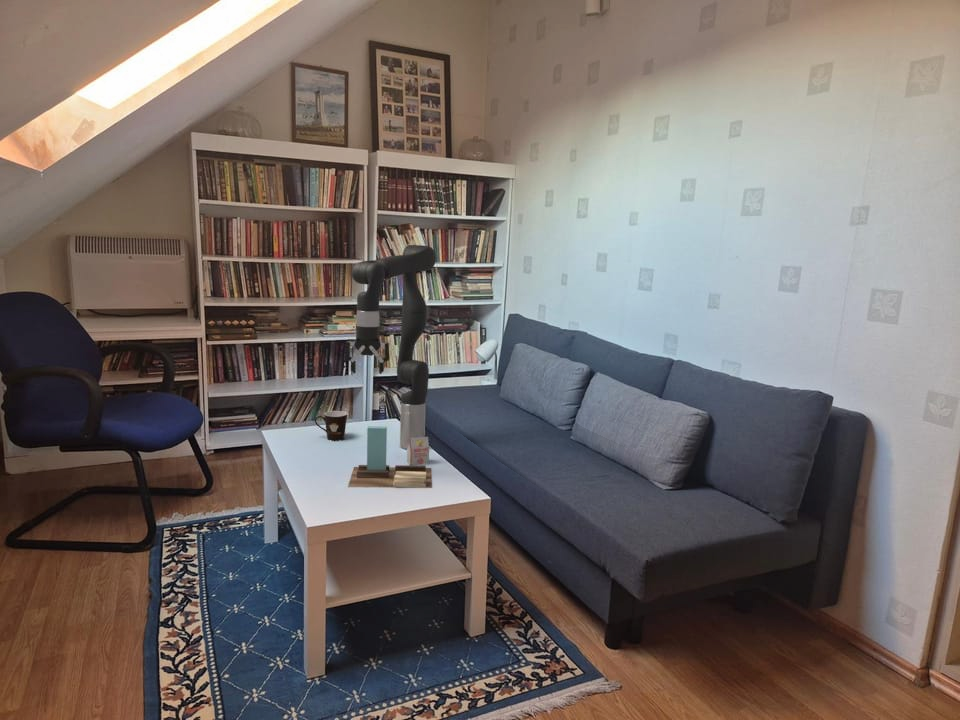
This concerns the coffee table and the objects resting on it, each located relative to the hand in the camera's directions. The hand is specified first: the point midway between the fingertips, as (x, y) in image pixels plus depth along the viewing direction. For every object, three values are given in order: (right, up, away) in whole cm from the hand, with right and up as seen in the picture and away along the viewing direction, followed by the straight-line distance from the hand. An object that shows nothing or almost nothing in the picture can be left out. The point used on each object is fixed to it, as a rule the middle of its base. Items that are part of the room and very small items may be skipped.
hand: (367, 373), depth 208 cm
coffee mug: (-20, -26, +38) cm, 50 cm away
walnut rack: (+8, -35, -3) cm, 36 cm away
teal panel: (+3, -33, -2) cm, 33 cm away
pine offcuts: (+15, -35, -9) cm, 39 cm away
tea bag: (+15, -33, +11) cm, 38 cm away
